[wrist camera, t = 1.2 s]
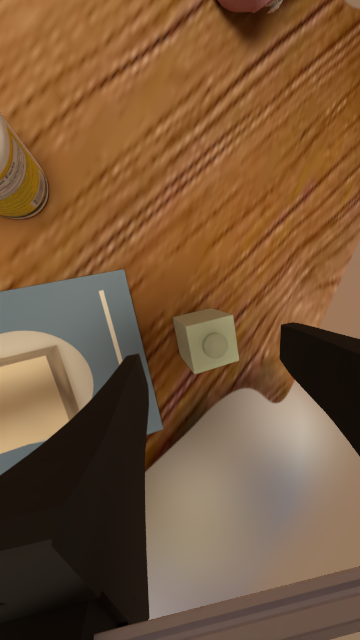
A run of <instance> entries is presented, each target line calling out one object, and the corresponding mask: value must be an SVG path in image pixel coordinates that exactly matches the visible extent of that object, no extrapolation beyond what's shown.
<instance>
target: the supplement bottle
mask: <svg viewBox="0 0 360 640" xmlns="http://www.w3.org/2000/svg"><path fill="white" fill-rule="evenodd" d="M47 198H48V183H47V179H46V177H45V174H44V172H43V170H42V169H41V167H40V165H39V164H38V163H37V161H36V160H35V159H34V157H33V156H32V154H31V153H30V152H29V150H28V149H27V148H26V146H25V145H24V144H23V142H22V141H21V140H20V138H19V137H18V136H17V134H16V133H15V132H14V130H13V129H12V128H11V126H10V125H9V124H8V122H7V121H6V120H5V118H4V117H3V115H2V114H1V113H0V216H3V217H6V218H11V219H24V218H29V217H31V216H34V215H35V214H37V213H38V212H40V211H41V210H42V208H43V207H44V205H45V204H46V201H47Z"/></svg>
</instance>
